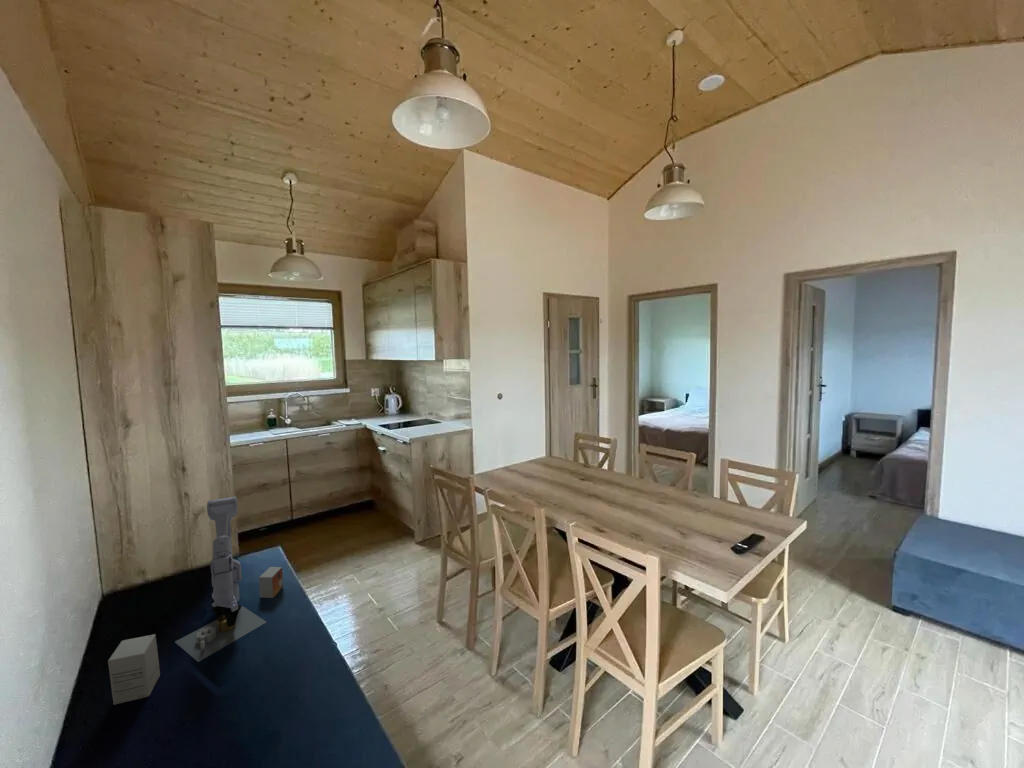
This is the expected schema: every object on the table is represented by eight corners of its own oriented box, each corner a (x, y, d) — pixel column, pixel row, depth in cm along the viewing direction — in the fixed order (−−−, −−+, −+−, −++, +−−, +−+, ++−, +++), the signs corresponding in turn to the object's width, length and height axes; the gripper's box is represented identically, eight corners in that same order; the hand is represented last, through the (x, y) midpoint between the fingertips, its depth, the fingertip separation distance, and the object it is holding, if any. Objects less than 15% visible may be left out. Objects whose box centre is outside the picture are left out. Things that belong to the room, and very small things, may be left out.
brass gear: (214, 628, 159) (214, 618, 158) (231, 620, 163) (230, 610, 163) (222, 634, 156) (221, 624, 155) (238, 625, 161) (238, 615, 160)
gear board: (174, 645, 152) (173, 634, 151) (242, 609, 172) (242, 599, 171) (198, 666, 144) (197, 653, 143) (267, 625, 163) (266, 614, 162)
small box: (273, 601, 177) (271, 577, 176) (259, 600, 177) (258, 577, 176) (283, 589, 185) (282, 566, 184) (271, 589, 185) (269, 566, 184)
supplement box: (126, 682, 137) (121, 639, 134) (161, 674, 140) (156, 632, 138) (111, 705, 128) (106, 660, 126) (149, 697, 131) (144, 653, 129)
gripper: (201, 586, 158) (204, 620, 160) (222, 600, 150) (224, 635, 152) (222, 577, 164) (225, 609, 166) (243, 590, 156) (245, 624, 158)
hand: (226, 621), depth 159 cm, fingers open, 7 cm apart
